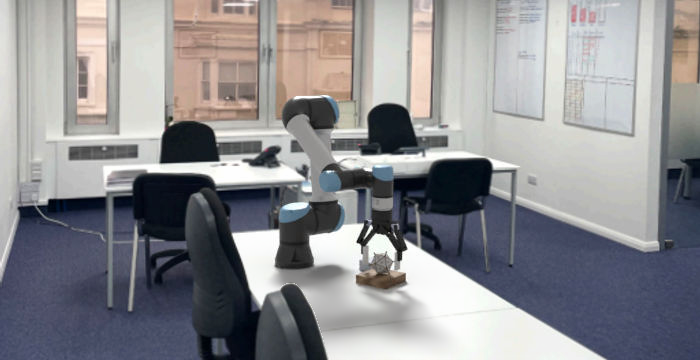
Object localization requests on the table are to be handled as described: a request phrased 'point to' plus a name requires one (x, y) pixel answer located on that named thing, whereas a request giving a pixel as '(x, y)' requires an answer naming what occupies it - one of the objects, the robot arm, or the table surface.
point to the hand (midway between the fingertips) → (381, 266)
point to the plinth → (380, 279)
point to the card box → (365, 266)
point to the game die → (381, 263)
